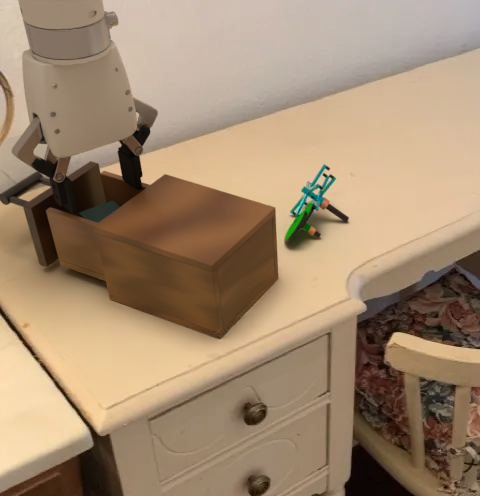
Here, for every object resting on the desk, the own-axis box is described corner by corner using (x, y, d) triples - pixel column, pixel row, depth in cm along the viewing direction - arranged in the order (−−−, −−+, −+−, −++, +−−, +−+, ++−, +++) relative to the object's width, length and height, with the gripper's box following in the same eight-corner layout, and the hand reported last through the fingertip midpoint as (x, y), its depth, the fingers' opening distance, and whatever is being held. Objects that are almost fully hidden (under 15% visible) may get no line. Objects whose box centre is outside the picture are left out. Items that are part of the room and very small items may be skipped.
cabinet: (109, 299, 94) (93, 226, 87) (175, 244, 102) (164, 173, 96) (220, 339, 90) (211, 265, 83) (278, 278, 98) (275, 207, 92)
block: (105, 262, 96) (97, 229, 93) (85, 245, 98) (78, 212, 95) (138, 248, 98) (132, 215, 95) (119, 232, 100) (112, 199, 97)
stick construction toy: (299, 180, 110) (327, 150, 104) (342, 210, 113) (372, 183, 106) (266, 247, 105) (293, 220, 98) (312, 278, 107) (341, 253, 101)
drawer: (-6, 248, 98) (-25, 189, 93) (59, 203, 106) (45, 147, 101) (135, 298, 93) (123, 239, 87) (193, 247, 100) (186, 190, 95)
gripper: (127, 5, 87) (151, 159, 100) (-38, 43, 78) (11, 208, 91) (166, 27, 84) (186, 185, 96) (-1, 70, 75) (44, 238, 87)
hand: (101, 195), depth 93 cm, fingers open, 7 cm apart
